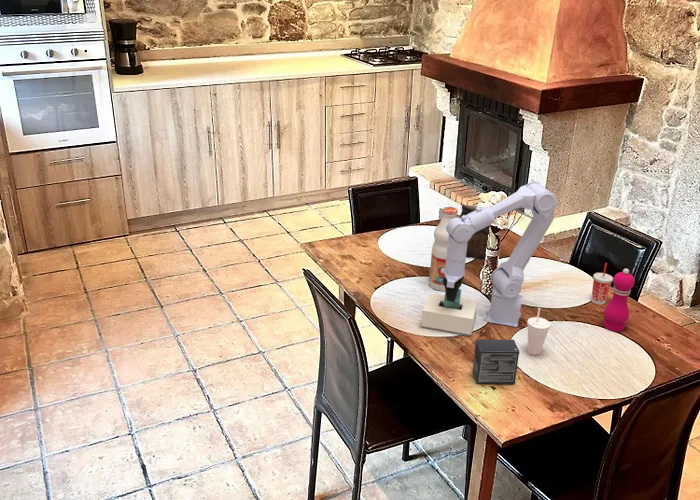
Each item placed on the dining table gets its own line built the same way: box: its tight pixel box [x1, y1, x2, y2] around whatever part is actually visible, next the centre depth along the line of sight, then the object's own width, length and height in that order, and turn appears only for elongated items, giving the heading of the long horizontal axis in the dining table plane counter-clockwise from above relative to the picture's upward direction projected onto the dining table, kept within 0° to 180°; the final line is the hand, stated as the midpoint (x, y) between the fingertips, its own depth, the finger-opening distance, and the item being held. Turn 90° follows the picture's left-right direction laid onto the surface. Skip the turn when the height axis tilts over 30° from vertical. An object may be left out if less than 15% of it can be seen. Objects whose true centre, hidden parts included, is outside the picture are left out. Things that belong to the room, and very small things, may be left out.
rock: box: [458, 203, 490, 261], centre depth 251 cm, size 13×13×20 cm
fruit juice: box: [428, 206, 459, 292], centre depth 226 cm, size 9×9×28 cm
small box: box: [471, 338, 520, 385], centre depth 181 cm, size 11×6×10 cm, turn 92°
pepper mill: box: [602, 268, 635, 333], centre depth 206 cm, size 7×7×20 cm
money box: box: [420, 292, 479, 337], centre depth 208 cm, size 15×12×6 cm
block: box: [444, 288, 462, 310], centre depth 205 cm, size 4×2×6 cm, turn 73°
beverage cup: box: [590, 262, 614, 305], centre depth 222 cm, size 6×6×14 cm
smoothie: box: [526, 307, 551, 356], centre depth 193 cm, size 6×6×14 cm
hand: (451, 298), depth 205 cm, fingers closed on block, 2 cm apart
